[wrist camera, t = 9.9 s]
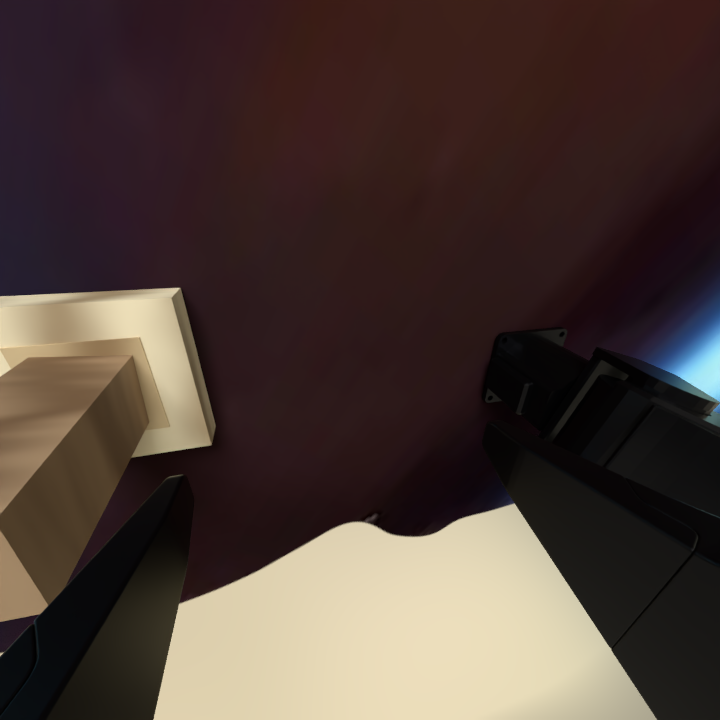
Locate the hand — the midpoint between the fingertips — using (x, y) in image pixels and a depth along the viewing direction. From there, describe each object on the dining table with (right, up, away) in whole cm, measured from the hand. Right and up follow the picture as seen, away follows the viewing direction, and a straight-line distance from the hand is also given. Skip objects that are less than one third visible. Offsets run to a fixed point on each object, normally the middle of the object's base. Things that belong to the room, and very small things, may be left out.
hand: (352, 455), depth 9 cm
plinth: (-15, +2, +10) cm, 18 cm away
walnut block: (-14, +1, +8) cm, 16 cm away
